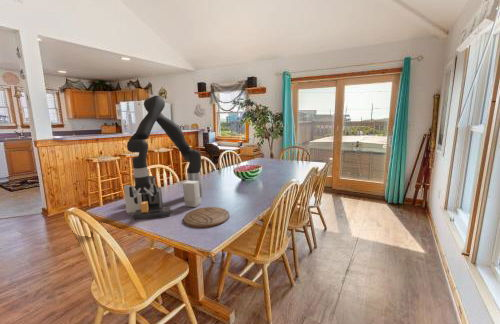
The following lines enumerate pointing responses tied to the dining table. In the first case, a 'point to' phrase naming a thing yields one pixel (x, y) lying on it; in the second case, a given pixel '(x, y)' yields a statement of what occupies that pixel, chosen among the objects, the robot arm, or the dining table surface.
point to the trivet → (206, 217)
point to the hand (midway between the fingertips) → (144, 202)
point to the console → (152, 213)
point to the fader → (144, 206)
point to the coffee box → (152, 180)
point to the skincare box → (191, 193)
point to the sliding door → (131, 201)
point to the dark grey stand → (147, 197)
